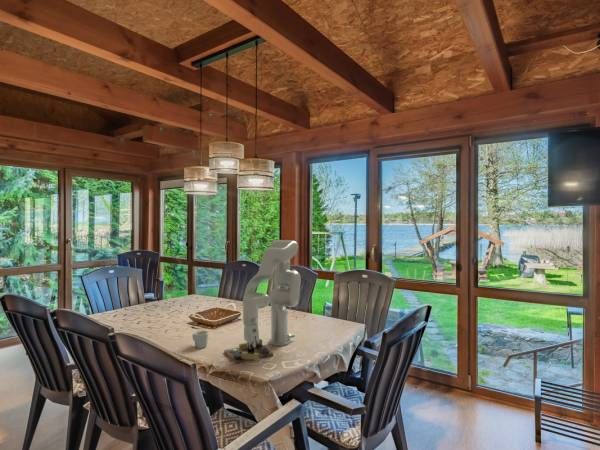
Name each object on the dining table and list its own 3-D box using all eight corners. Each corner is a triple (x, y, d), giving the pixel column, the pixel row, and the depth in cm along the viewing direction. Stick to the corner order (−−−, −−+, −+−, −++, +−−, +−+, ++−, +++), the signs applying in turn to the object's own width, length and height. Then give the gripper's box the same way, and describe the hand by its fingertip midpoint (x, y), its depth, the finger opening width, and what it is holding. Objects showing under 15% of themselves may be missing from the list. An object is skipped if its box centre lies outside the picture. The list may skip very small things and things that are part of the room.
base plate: (259, 345, 202) (259, 339, 202) (273, 355, 187) (273, 349, 186) (224, 352, 191) (224, 346, 191) (235, 364, 176) (235, 357, 176)
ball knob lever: (260, 343, 199) (260, 338, 199) (263, 346, 195) (263, 340, 195) (238, 348, 193) (238, 342, 193) (241, 350, 189) (240, 345, 189)
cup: (187, 346, 201) (187, 332, 201) (198, 342, 208) (198, 328, 207) (200, 350, 195) (200, 336, 195) (211, 346, 202) (211, 332, 201)
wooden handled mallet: (232, 358, 178) (232, 352, 178) (235, 355, 182) (235, 349, 182) (257, 361, 175) (257, 355, 175) (260, 357, 179) (260, 351, 179)
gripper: (263, 323, 176) (263, 359, 177) (252, 315, 189) (252, 349, 190) (248, 325, 172) (249, 362, 173) (238, 317, 185) (239, 352, 186)
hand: (251, 355), depth 181 cm, fingers closed
